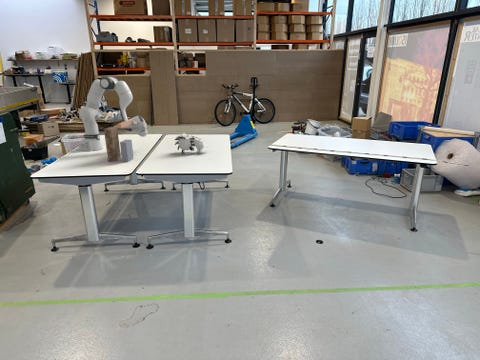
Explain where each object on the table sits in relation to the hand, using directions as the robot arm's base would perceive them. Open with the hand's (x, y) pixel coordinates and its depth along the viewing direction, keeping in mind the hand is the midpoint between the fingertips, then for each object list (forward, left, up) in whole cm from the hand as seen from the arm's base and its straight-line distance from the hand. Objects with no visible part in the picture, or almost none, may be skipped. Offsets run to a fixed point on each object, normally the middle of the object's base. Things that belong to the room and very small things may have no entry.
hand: (129, 121), depth 271 cm
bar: (0, -8, -2) cm, 8 cm away
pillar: (-12, -11, -30) cm, 34 cm away
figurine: (+45, +20, -30) cm, 58 cm away
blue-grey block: (0, -11, -30) cm, 32 cm away
